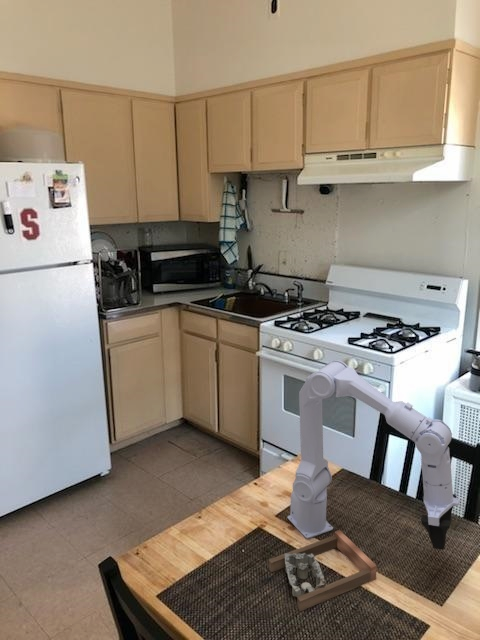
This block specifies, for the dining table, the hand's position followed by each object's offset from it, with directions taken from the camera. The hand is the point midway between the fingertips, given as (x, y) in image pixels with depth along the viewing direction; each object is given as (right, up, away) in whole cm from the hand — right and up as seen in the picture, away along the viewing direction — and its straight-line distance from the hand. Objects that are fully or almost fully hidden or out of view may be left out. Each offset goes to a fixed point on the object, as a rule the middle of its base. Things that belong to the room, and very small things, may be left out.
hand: (441, 537), depth 111 cm
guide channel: (-26, -10, +4) cm, 28 cm away
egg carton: (-29, -11, +3) cm, 31 cm away
